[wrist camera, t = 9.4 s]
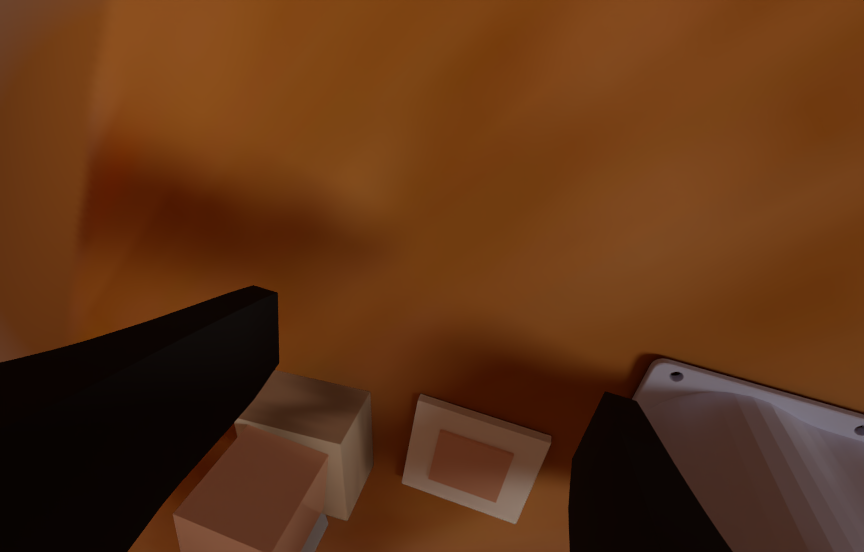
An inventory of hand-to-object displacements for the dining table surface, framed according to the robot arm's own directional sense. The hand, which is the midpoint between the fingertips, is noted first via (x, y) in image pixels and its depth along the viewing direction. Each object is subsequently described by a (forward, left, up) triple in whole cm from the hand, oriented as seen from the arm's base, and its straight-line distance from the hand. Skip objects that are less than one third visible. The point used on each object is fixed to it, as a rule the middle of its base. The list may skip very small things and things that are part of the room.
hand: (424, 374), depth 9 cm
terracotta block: (+7, +15, -6) cm, 18 cm away
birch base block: (+7, +15, -10) cm, 19 cm away
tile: (-2, +14, -10) cm, 17 cm away
